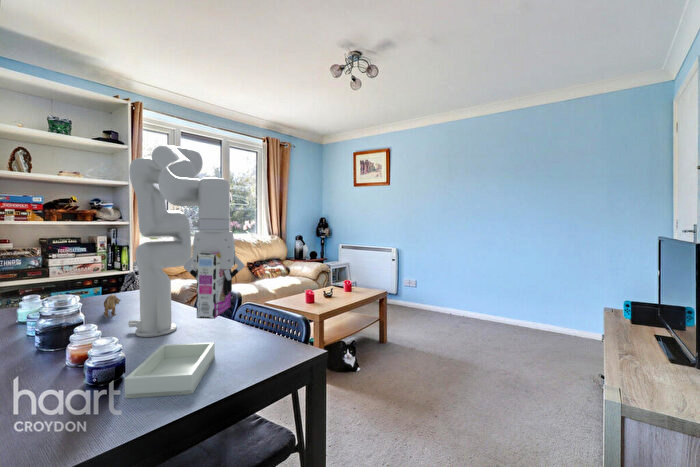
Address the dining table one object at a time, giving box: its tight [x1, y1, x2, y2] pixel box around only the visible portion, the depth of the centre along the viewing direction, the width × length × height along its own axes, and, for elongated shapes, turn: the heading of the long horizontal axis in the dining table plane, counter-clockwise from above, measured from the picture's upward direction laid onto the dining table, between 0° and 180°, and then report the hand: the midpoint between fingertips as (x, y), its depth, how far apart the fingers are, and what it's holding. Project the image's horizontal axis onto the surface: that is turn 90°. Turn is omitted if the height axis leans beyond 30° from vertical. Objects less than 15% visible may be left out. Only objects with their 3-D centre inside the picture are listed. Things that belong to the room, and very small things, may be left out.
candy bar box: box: [196, 252, 232, 320], centre depth 88 cm, size 11×5×16 cm, turn 0°
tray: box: [124, 341, 216, 399], centre depth 85 cm, size 14×20×4 cm
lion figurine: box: [103, 294, 122, 318], centre depth 138 cm, size 15×5×9 cm, turn 45°
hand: (215, 293), depth 88 cm, fingers closed on candy bar box, 5 cm apart
